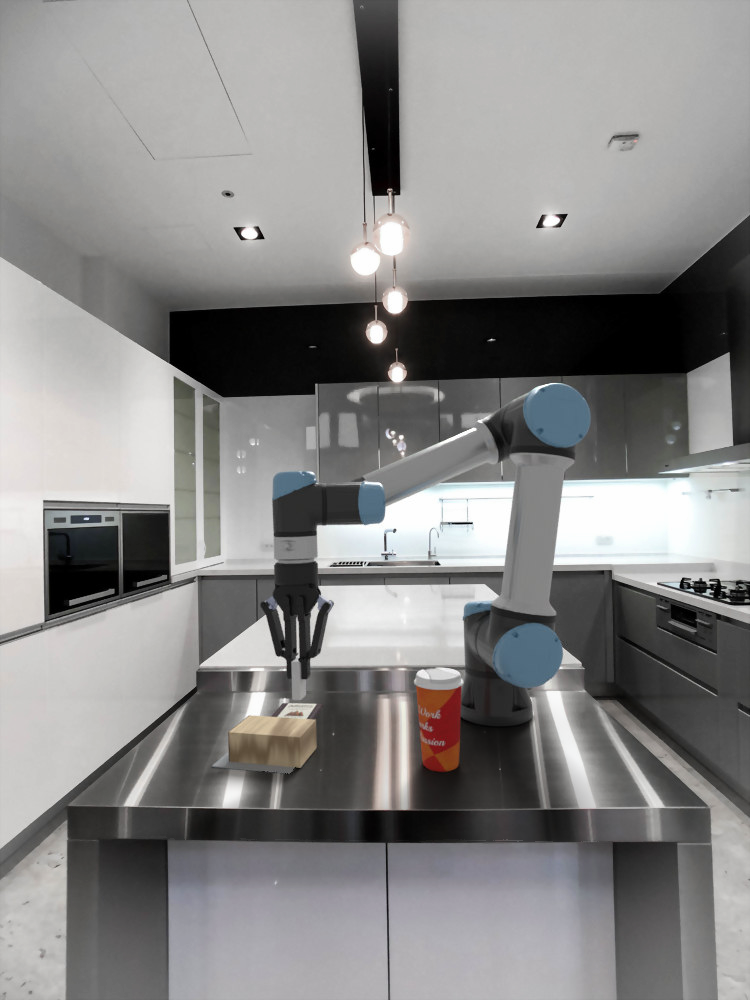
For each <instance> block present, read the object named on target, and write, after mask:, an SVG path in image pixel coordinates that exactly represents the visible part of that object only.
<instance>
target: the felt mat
mask: <svg viewBox="0 0 750 1000" xmlns="http://www.w3.org/2000/svg"><path fill="white" fill-rule="evenodd" d="M211 767H212V768H219V769H231V770H240V771H241V770H243V771H253V772H262V771H265V772H264V773H273V772H275V774H285V773H286V774H285V775H287V773H288V775H290V773H291V772H293V771H294V770H295V769H296V768H295V767H286V766H274V765H263V764H251V763H239V762H229V750H228V751H227V752H226V753H225V754H223V756H222V757H221V758H219V759H218V760H217V761H216V762H214V763H213V765H211ZM294 768H295V769H294ZM293 769H294V770H293ZM267 771H268V772H267ZM276 772H277V773H276ZM291 774H292V773H291Z"/></svg>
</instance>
